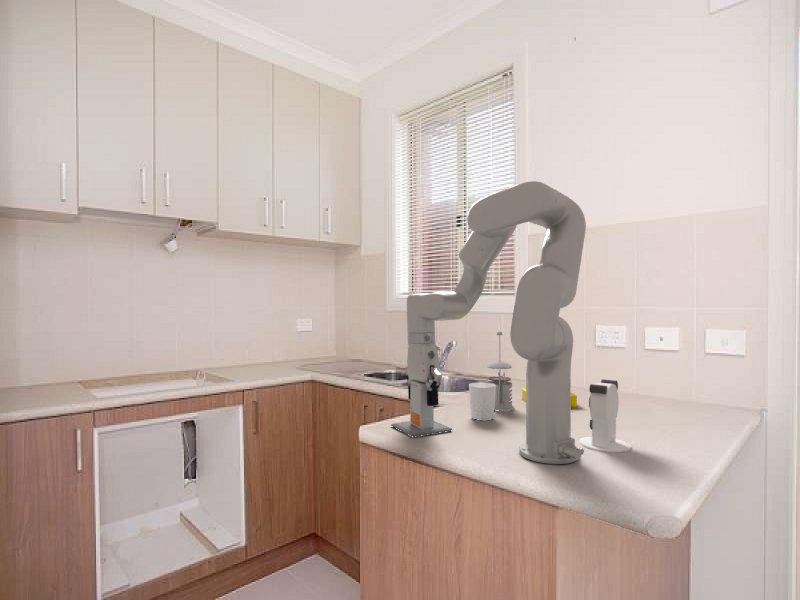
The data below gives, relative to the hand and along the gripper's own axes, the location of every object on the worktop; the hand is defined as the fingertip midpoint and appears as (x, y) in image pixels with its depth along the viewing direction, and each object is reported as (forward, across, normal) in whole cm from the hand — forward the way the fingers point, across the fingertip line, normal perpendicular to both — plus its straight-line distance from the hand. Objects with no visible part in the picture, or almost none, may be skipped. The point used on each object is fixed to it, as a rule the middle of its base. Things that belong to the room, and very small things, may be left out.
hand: (423, 402), depth 122 cm
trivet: (+7, +1, 0) cm, 7 cm away
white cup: (+8, +2, -22) cm, 23 cm away
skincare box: (+7, 0, 0) cm, 7 cm away
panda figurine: (+9, -32, -32) cm, 46 cm away
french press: (+8, +9, -35) cm, 37 cm away
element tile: (+8, +7, -55) cm, 56 cm away
